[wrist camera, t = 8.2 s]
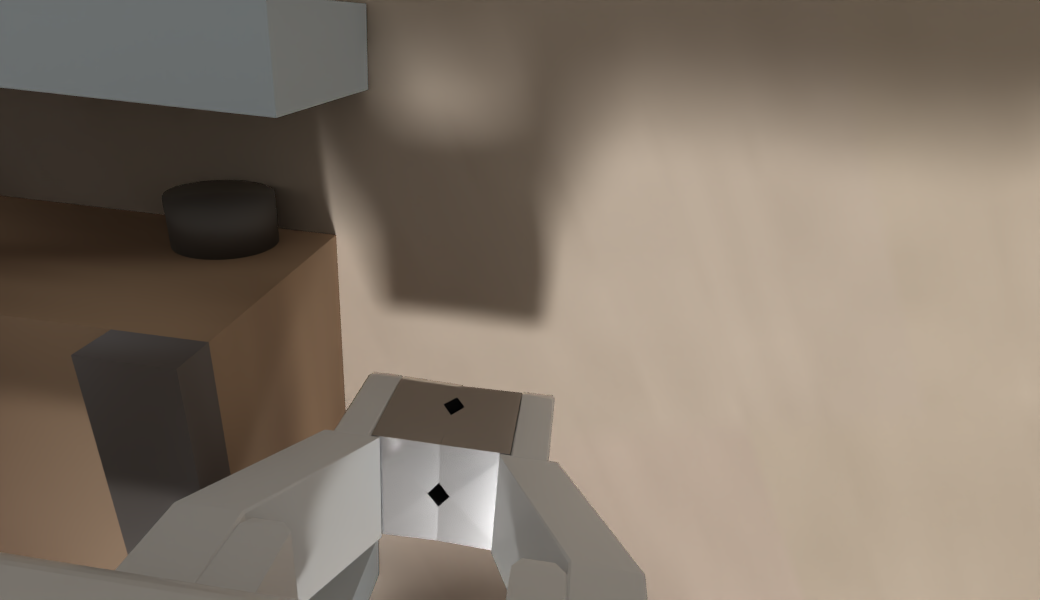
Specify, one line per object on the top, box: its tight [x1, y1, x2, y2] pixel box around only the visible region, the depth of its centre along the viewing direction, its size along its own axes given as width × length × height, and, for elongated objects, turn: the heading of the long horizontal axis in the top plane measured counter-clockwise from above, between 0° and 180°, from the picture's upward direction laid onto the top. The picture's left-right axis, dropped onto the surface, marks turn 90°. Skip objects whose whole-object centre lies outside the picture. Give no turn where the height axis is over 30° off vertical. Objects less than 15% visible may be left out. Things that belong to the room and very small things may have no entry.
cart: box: [0, 180, 346, 570], centre depth 10 cm, size 9×7×5 cm
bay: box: [0, 0, 379, 600], centre depth 10 cm, size 11×12×3 cm
